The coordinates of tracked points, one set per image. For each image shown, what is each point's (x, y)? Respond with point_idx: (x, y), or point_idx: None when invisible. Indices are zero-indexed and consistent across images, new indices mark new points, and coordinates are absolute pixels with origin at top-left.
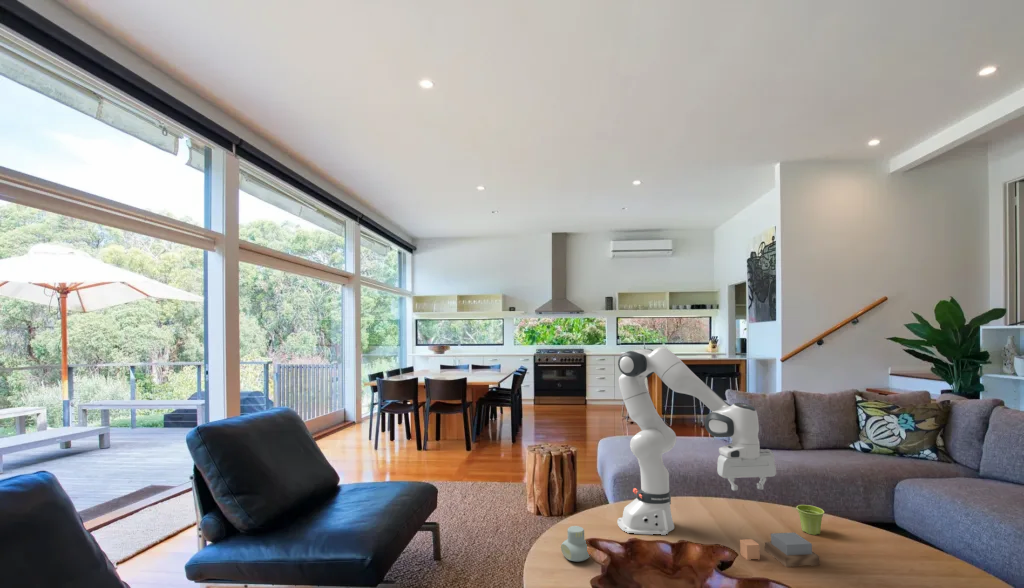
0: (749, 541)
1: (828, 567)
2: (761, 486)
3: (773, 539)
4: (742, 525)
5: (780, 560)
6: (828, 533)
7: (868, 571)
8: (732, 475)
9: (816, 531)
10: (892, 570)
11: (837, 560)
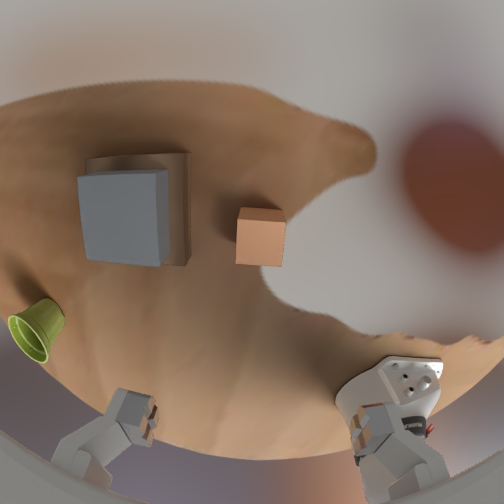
0: (256, 248)
1: (87, 143)
2: (125, 409)
3: (163, 247)
4: (176, 373)
5: (189, 179)
6: (30, 297)
7: (33, 128)
8: (468, 492)
9: (43, 301)
10: (4, 137)
11: (53, 179)
